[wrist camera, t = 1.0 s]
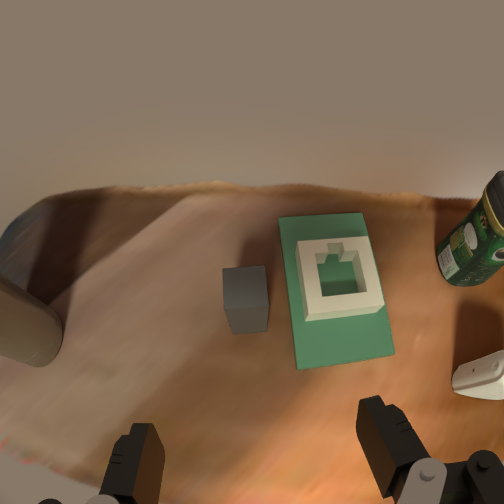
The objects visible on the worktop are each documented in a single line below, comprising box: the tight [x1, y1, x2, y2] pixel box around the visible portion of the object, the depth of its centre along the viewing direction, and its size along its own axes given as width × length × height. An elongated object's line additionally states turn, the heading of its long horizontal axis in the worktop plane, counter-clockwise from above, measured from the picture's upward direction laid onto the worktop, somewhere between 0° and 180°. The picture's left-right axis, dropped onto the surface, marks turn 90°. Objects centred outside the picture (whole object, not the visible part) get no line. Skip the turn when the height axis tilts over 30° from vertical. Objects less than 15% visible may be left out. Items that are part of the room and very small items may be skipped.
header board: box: [278, 213, 395, 370], centre depth 38 cm, size 12×20×4 cm, turn 4°
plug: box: [222, 265, 269, 334], centre depth 34 cm, size 4×5×10 cm
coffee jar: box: [437, 171, 504, 286], centre depth 32 cm, size 10×8×19 cm
